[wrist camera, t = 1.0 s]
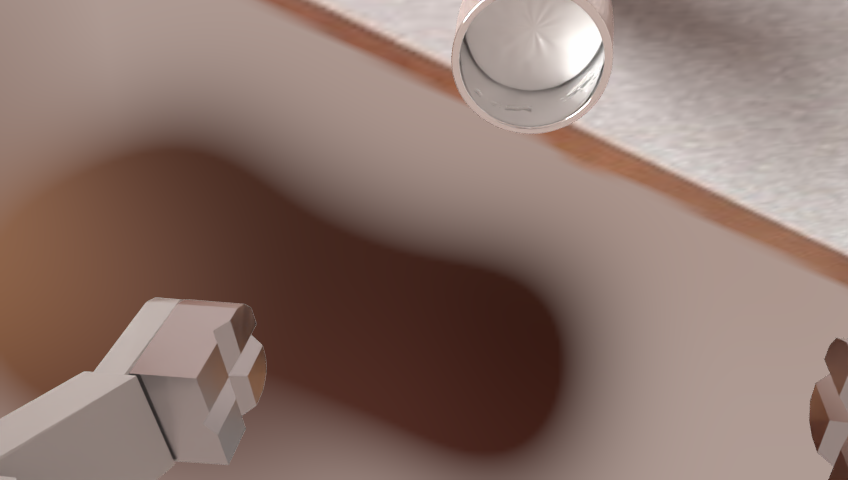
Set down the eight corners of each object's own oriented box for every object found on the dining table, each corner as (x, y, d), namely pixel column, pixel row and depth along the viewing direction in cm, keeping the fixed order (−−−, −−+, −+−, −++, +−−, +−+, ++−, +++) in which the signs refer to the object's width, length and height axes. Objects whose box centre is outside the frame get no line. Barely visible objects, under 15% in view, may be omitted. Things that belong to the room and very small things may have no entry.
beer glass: (627, -78, 38) (653, 21, 26) (567, 34, 42) (567, 161, 31) (511, -131, 37) (486, -54, 26) (463, -11, 42) (422, 101, 30)
